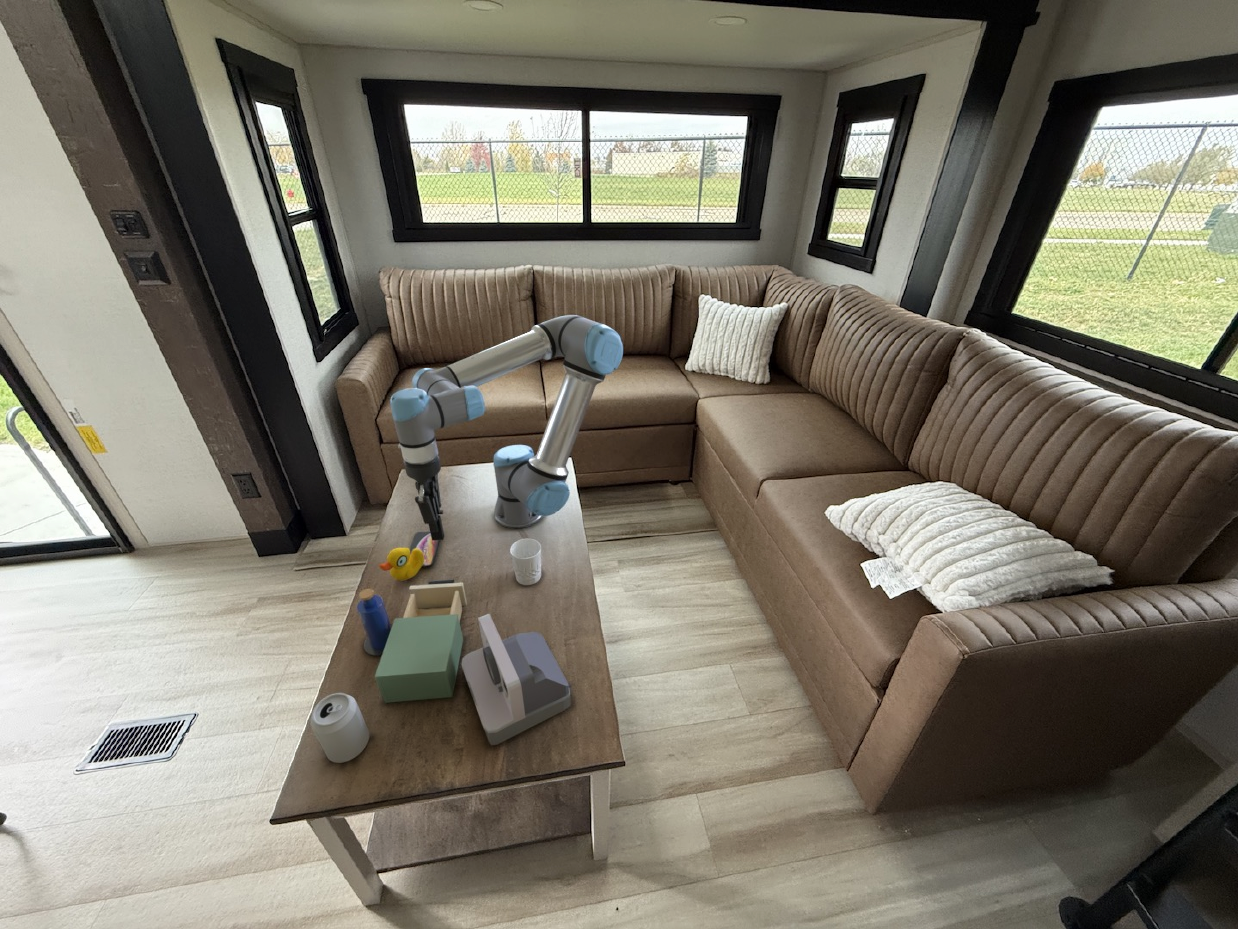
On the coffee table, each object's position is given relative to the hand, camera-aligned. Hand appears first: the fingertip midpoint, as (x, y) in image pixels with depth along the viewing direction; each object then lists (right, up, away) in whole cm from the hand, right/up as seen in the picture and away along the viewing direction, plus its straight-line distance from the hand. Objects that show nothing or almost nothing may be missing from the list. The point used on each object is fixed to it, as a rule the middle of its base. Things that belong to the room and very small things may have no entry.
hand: (438, 538), depth 124 cm
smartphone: (-10, -6, +17) cm, 21 cm away
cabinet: (+3, -27, -15) cm, 31 cm away
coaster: (-10, -23, -9) cm, 26 cm away
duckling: (-11, -11, +9) cm, 18 cm away
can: (-6, -35, -29) cm, 46 cm away
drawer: (+1, -19, -4) cm, 19 cm away
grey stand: (+24, -29, -18) cm, 42 cm away
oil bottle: (-10, -22, -9) cm, 26 cm away
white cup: (+21, -12, +10) cm, 26 cm away
